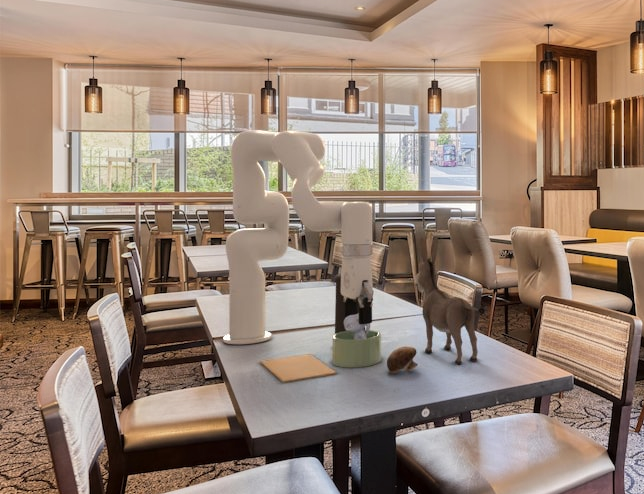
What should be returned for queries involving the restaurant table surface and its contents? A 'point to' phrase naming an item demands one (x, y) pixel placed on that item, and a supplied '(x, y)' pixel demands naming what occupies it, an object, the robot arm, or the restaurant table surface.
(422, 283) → the toy
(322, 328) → the restaurant table surface
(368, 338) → the green bowl
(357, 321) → the toy figurine
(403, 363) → the mushroom
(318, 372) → the mat
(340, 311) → the container
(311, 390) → the restaurant table surface
